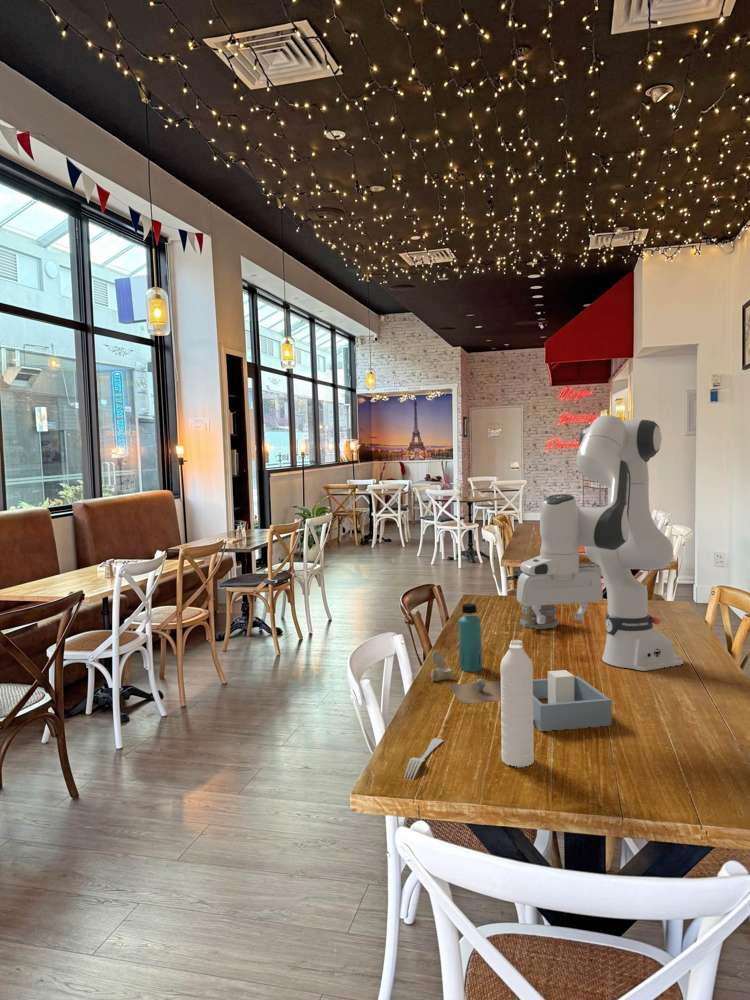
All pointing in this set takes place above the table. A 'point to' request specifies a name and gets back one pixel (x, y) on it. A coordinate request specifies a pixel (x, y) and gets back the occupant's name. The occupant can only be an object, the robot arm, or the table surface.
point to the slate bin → (571, 708)
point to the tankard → (531, 617)
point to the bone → (440, 668)
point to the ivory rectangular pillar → (560, 686)
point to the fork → (432, 746)
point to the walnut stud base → (477, 691)
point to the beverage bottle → (470, 640)
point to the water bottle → (517, 707)
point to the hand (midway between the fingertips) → (560, 621)
